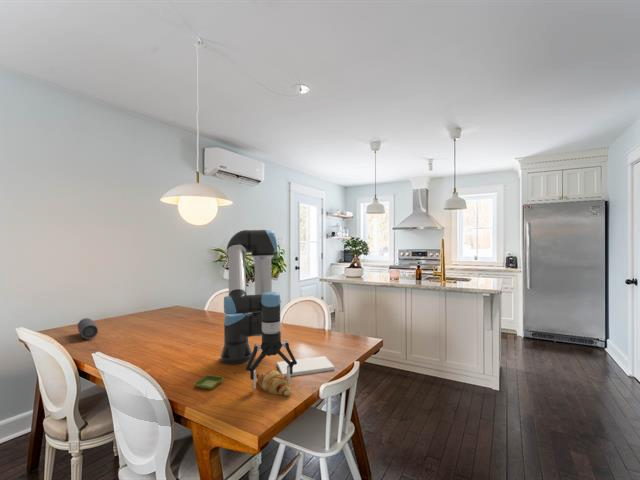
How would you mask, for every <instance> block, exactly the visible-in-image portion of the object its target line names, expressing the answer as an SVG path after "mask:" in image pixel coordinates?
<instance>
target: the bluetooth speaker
mask: <svg viewBox="0 0 640 480" xmlns="http://www.w3.org/2000/svg"><path fill="white" fill-rule="evenodd" d="M77 331H78V333H79V335H80V336H81V337H82V338H84V339H85V340H86V339H87V340H88V339H93V338H95V337H96V336H97V335H98V331H99V328H98V325H97V324H96V322H95V321H94V320H93V319H91V318H88V317H87V318H82V319H80V321H79V322H78V323H77Z"/></svg>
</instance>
